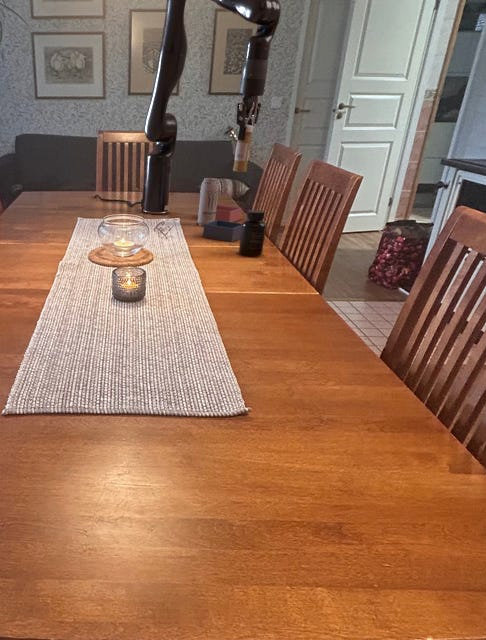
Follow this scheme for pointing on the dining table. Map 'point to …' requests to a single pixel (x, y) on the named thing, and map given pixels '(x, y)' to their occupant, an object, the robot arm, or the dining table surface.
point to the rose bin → (227, 213)
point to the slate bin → (222, 230)
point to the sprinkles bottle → (243, 151)
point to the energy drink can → (208, 201)
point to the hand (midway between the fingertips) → (244, 139)
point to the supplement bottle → (252, 234)
